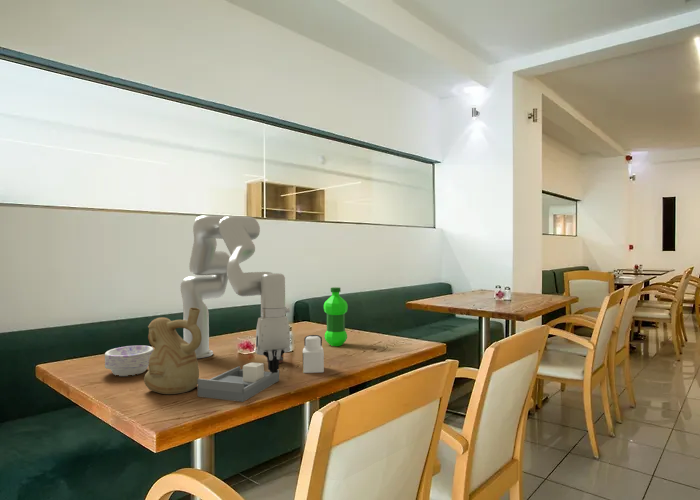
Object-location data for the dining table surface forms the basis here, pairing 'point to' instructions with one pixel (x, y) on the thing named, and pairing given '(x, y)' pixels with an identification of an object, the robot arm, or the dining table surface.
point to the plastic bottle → (335, 318)
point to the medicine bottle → (313, 354)
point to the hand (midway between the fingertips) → (273, 371)
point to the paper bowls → (128, 360)
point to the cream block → (253, 372)
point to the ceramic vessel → (173, 355)
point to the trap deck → (234, 385)
